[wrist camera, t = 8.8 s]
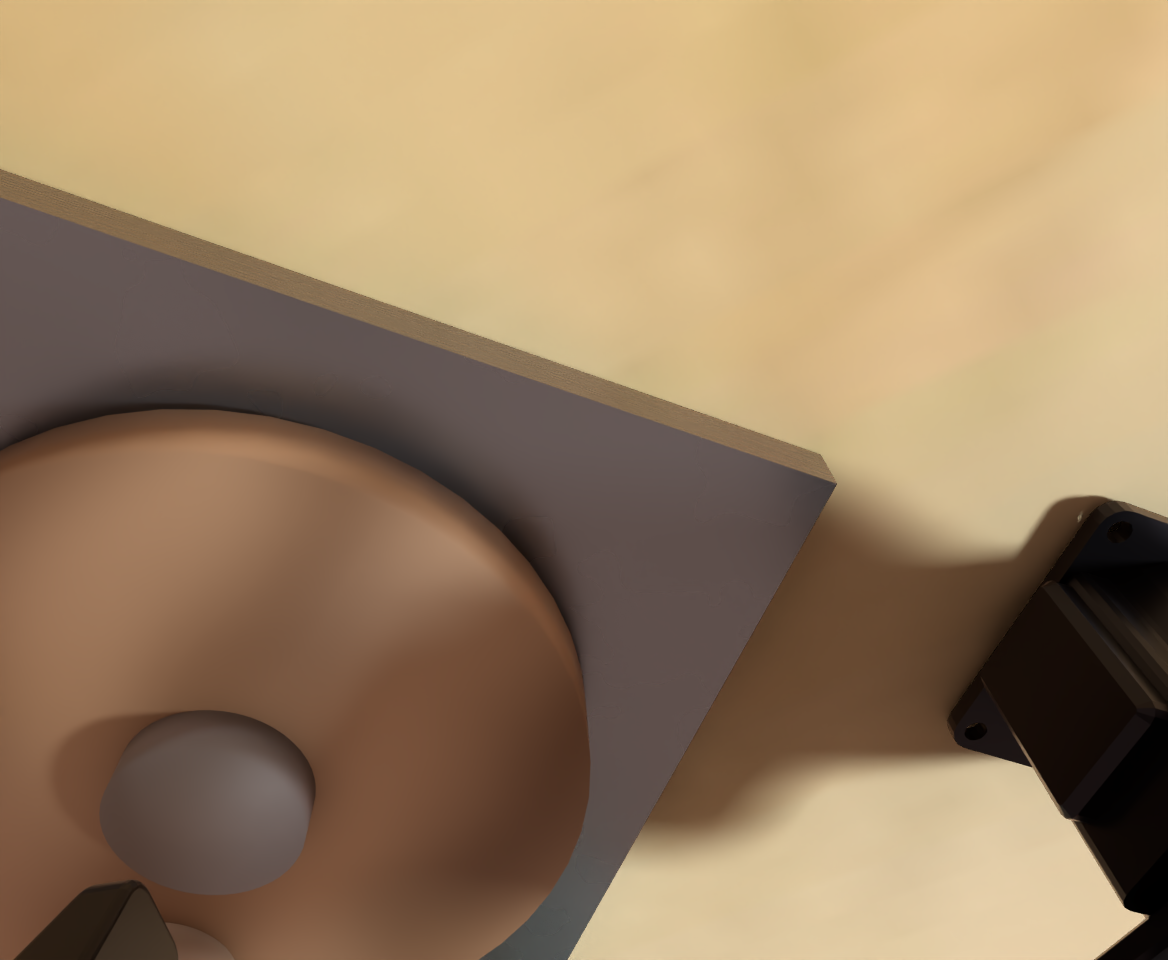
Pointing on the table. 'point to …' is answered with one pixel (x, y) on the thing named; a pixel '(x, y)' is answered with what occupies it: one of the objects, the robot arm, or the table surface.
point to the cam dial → (276, 694)
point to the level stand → (441, 467)
